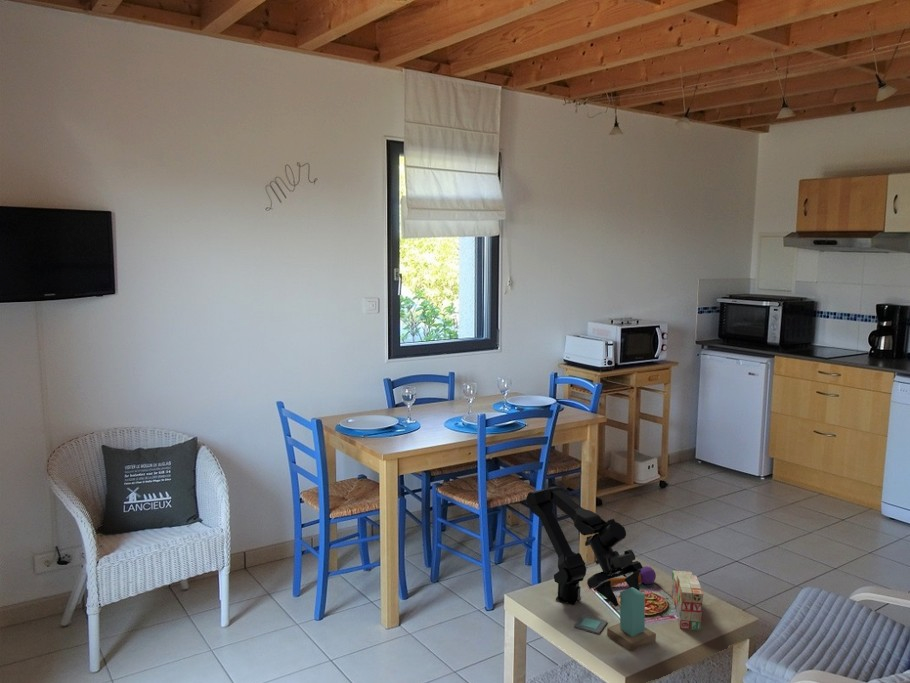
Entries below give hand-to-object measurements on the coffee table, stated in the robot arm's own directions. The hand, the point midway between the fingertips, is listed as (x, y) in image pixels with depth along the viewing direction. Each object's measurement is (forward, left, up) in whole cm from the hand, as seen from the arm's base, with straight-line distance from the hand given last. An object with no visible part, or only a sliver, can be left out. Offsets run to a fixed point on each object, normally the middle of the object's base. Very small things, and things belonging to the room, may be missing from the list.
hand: (628, 601), depth 216 cm
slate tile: (-11, 0, -11) cm, 16 cm away
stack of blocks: (+12, +23, -11) cm, 29 cm away
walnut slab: (+2, -1, -11) cm, 12 cm away
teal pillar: (+2, -1, -8) cm, 8 cm away
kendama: (-9, +33, -11) cm, 36 cm away
